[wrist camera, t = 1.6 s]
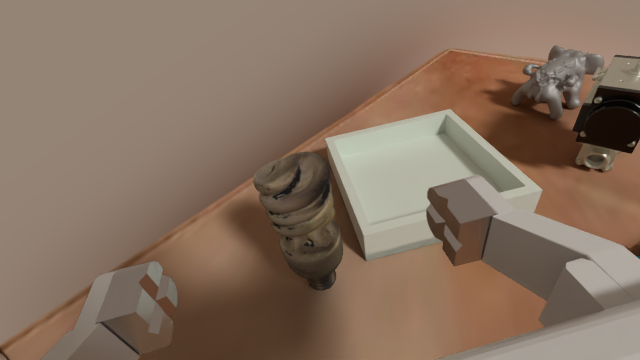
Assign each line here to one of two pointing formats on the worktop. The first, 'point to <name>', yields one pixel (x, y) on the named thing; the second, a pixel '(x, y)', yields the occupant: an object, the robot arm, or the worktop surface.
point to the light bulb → (303, 215)
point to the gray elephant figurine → (558, 79)
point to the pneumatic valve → (610, 114)
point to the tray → (414, 177)
